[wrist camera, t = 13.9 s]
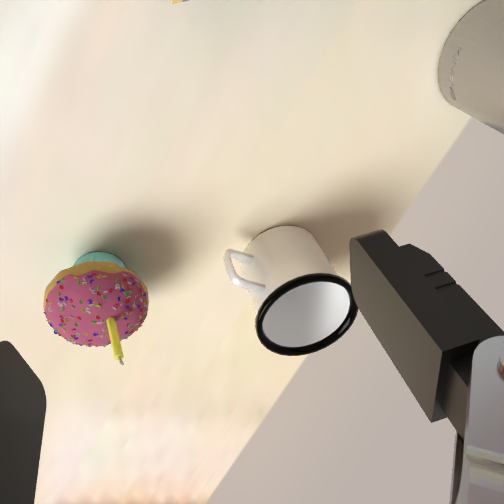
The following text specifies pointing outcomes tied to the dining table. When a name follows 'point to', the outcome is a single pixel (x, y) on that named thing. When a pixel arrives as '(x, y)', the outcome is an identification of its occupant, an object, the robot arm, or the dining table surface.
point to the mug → (293, 291)
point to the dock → (176, 0)
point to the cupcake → (96, 302)
